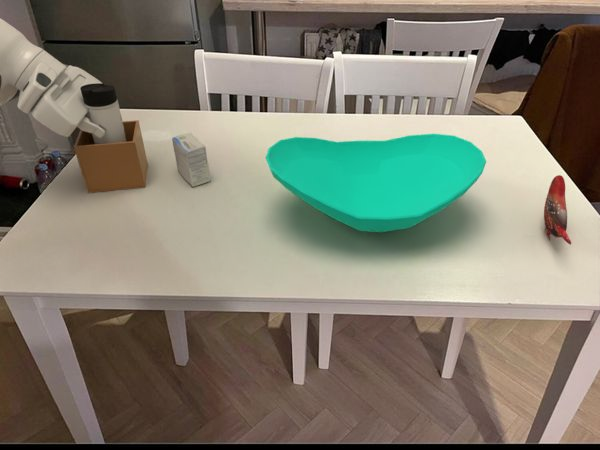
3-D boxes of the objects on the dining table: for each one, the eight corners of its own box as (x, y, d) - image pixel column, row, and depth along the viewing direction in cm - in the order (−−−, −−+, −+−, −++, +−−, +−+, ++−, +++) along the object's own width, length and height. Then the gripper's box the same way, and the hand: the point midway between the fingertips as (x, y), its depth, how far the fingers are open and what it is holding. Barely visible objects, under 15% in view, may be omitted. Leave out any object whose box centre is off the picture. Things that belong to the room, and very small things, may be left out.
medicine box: (211, 182, 100) (206, 146, 95) (191, 188, 98) (186, 151, 93) (195, 166, 105) (190, 131, 100) (177, 172, 103) (171, 136, 98)
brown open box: (88, 192, 96) (73, 147, 90) (95, 167, 105) (82, 124, 98) (145, 187, 98) (134, 142, 92) (147, 163, 107) (138, 120, 100)
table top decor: (269, 264, 79) (266, 200, 71) (266, 179, 101) (264, 123, 93) (494, 255, 82) (516, 192, 74) (444, 174, 104) (456, 118, 96)
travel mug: (96, 178, 100) (70, 87, 88) (116, 164, 105) (94, 76, 92) (120, 184, 98) (97, 93, 86) (139, 169, 103) (120, 81, 91)
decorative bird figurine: (548, 214, 92) (566, 170, 86) (566, 273, 78) (589, 226, 72) (533, 212, 92) (549, 168, 86) (548, 270, 79) (569, 223, 72)
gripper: (56, 72, 98) (114, 115, 104) (13, 112, 82) (85, 160, 88) (72, 50, 95) (130, 95, 102) (30, 87, 79) (103, 138, 85)
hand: (109, 126), depth 95 cm, fingers closed on travel mug, 6 cm apart
